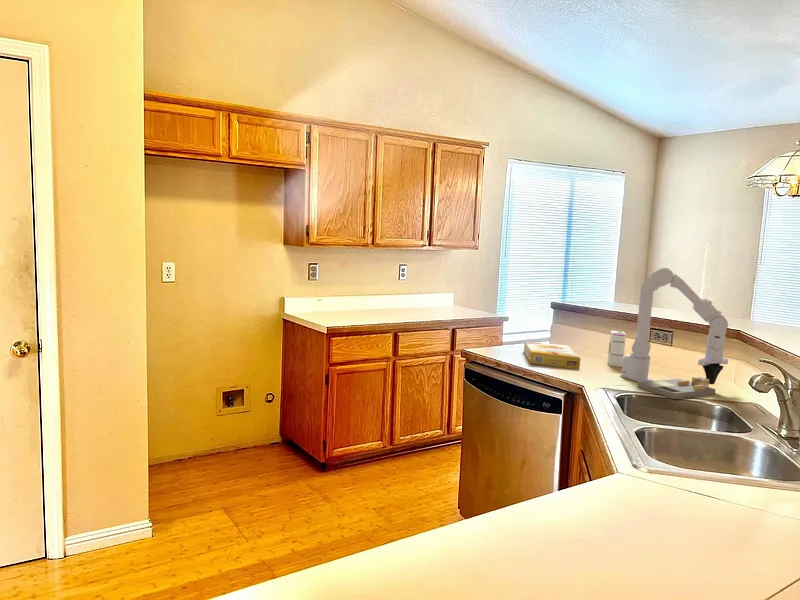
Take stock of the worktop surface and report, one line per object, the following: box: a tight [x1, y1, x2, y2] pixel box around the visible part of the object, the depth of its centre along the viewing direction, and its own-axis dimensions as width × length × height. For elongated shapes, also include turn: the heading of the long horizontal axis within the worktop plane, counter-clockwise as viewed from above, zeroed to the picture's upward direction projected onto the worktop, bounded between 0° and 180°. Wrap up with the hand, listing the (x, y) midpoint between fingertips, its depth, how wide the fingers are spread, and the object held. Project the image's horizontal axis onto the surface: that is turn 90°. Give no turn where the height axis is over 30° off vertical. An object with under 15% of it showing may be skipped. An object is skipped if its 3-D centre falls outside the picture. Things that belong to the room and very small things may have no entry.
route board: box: [637, 378, 716, 400], centre depth 213 cm, size 15×22×4 cm
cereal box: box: [523, 341, 581, 370], centre depth 255 cm, size 20×6×28 cm
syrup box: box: [607, 330, 627, 368], centre depth 252 cm, size 6×6×14 cm
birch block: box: [691, 376, 710, 388], centre depth 215 cm, size 4×4×3 cm
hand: (710, 383), depth 218 cm, fingers closed
